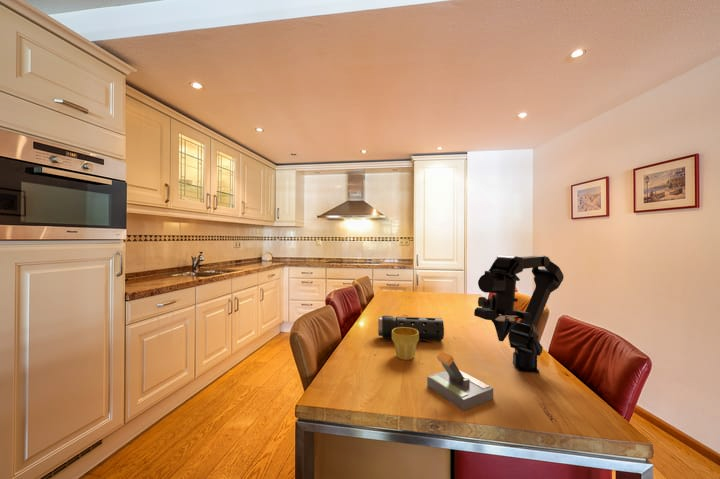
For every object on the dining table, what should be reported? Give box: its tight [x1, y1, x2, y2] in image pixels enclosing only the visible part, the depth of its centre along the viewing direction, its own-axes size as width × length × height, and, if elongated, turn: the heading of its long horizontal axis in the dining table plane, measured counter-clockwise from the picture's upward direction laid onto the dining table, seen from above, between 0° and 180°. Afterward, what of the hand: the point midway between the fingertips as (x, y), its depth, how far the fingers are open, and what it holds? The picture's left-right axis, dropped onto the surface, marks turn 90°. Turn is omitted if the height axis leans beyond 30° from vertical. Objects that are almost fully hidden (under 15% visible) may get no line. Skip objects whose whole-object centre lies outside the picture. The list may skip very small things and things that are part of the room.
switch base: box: [426, 369, 494, 412], centre depth 84 cm, size 12×14×5 cm
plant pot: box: [391, 327, 420, 361], centre depth 108 cm, size 10×10×10 cm
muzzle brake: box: [377, 315, 445, 342], centre depth 126 cm, size 10×28×10 cm, turn 84°
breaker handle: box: [436, 350, 464, 385], centre depth 82 cm, size 2×4×11 cm
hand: (500, 341), depth 92 cm, fingers closed
